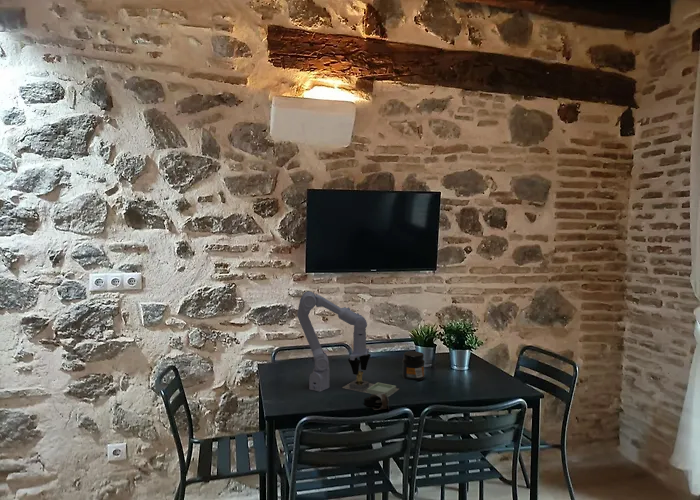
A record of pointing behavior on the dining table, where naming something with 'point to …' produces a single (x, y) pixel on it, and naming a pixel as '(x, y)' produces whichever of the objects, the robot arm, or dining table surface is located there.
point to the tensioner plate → (366, 389)
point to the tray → (381, 388)
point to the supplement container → (413, 365)
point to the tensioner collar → (360, 386)
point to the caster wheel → (377, 401)
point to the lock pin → (359, 377)
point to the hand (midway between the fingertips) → (359, 372)
